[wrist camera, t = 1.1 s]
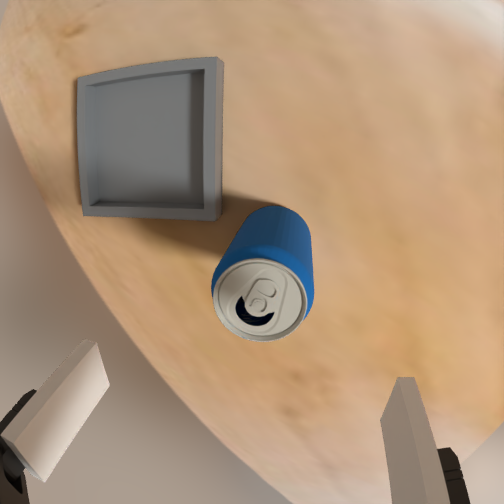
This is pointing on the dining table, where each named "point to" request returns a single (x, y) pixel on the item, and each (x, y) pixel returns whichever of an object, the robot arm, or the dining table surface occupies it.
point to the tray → (152, 140)
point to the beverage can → (265, 276)
